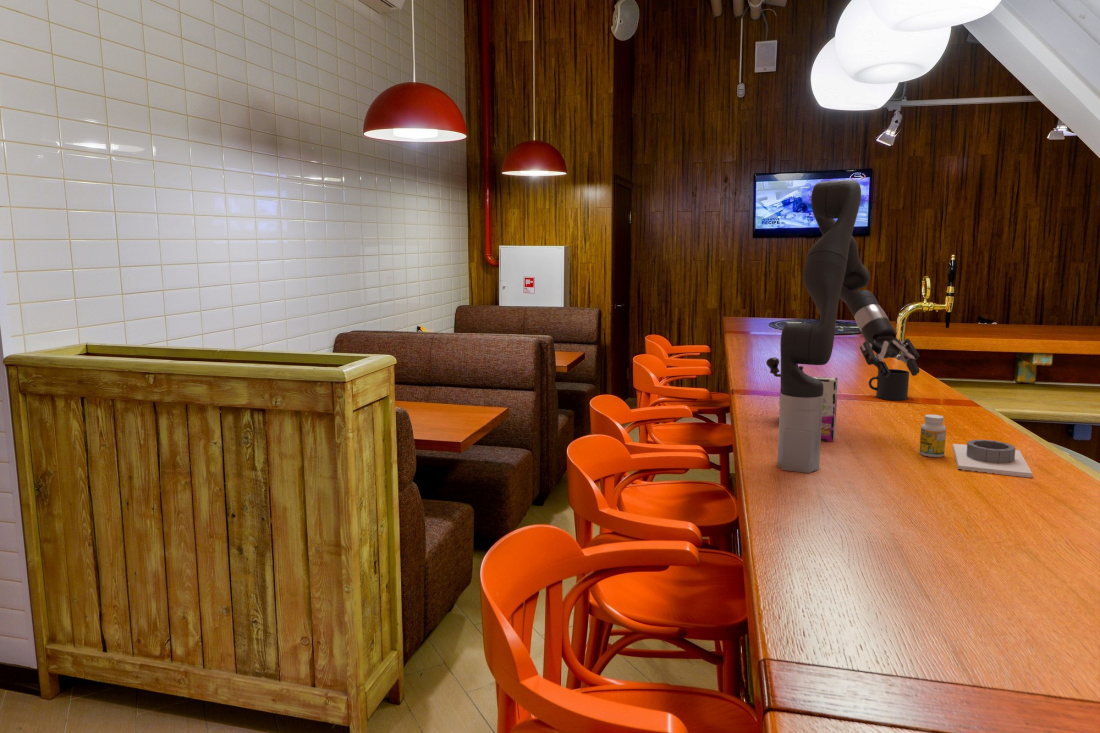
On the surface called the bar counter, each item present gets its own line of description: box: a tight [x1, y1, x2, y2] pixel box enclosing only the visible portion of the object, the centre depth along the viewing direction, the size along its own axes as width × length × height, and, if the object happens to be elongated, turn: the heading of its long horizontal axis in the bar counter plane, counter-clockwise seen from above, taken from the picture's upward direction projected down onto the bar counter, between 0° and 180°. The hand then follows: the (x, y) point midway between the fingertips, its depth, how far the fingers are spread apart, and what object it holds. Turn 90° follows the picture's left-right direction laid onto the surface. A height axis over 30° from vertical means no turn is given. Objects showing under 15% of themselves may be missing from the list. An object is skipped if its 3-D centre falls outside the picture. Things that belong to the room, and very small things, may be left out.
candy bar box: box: [809, 375, 839, 443], centre depth 189 cm, size 11×5×16 cm, turn 62°
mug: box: [868, 368, 910, 402], centre depth 238 cm, size 9×12×9 cm
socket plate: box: [952, 439, 1033, 478], centre depth 167 cm, size 20×14×4 cm
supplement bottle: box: [919, 414, 947, 458], centre depth 173 cm, size 5×5×10 cm
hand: (902, 375), depth 182 cm, fingers open, 8 cm apart
